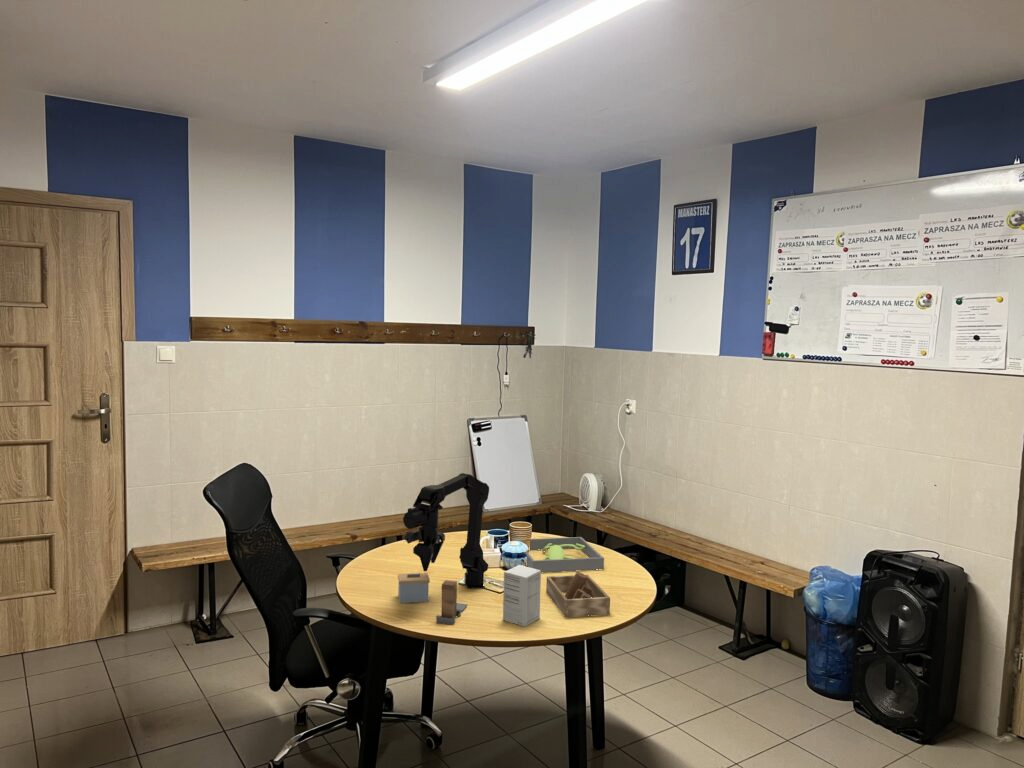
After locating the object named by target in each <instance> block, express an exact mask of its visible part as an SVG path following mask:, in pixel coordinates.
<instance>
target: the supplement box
mask: <svg viewBox="0 0 1024 768" xmlns="http://www.w3.org/2000/svg"><path fill="white" fill-rule="evenodd" d="M541 580H542V573H541V570H538V569H534V568H530V567H527V566H526V565H522V564H518V565H515V566H514V567H511V568H510V569H507V570H506V571H504V572H503V593H502V594H503V601H502V606H503V607H502V620H503V621H504V620H505V622H509V623H511V624H514V623H515V625H517V624H518V626H520V627H521V626H522V627H524V626H526V627H528V626H529V625H531V624H533V623H534V622H536V621H537V620H538V619H540V616H541V614H540V613H541V588H542V587H541V584H542V581H541Z"/></svg>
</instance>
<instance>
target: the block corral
mask: <svg viewBox="0 0 1024 768" xmlns="http://www.w3.org/2000/svg"><path fill="white" fill-rule="evenodd" d="M585 575H586V576H587V579H586V581H585V583H584V585H583V587H582V589H583V588H584V587H586V588H588V589H590V590H592V591H591V593H590V595H591V597H592V598H580V599H567V598H566V597H565V594H564V593H566V592H567V590H568V588H569V586H570V584H571V582H572V580H573V578H574V576H575V574H571V575H569V574H568V575H554V576H553V575H552V576H551V575H550V576H546V586H545V587H546V588H545V590H546V591H545V592H546V594H547V595H548V597H549V599H550V600H551V599H552V600H551V601H552V602H553V604H554V603H555V604H554V605H555V607H556V608H557V609H558V610H559V611H560V613H561V615H562V616H563V615H564V616H563V617H564V618H565V617H568V618H579V617H578V616H584V617H592V616H591V615H599V616H609V615H610V613H611V611H610V610H611V609H610V607H611V605H610V604H611V597H610V596H609V595H608V594H607V592H606V591H604V590H603V589H602V588H601V587H600V585H598V584H597V582H596V581H595V580H594V579H593V578H592V577H591V576H590V575H589V574H585ZM582 589H581V590H582ZM562 592H563V593H562ZM608 614H609V615H608ZM588 615H589V616H588Z"/></svg>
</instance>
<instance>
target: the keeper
mask: <svg viewBox="0 0 1024 768" xmlns="http://www.w3.org/2000/svg"><path fill="white" fill-rule="evenodd" d="M461 615H462V612H461V610H460V609H456V616H458V617H457V618H460V617H461ZM435 618H436V619H435V620H436V622H437V623H436V624H443V623H444V625H452V624H454V625H455V623H456V618H455V617H449V616H441V614H440V615H439V614H437V616H436V617H435Z"/></svg>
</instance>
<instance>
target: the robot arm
mask: <svg viewBox="0 0 1024 768" xmlns="http://www.w3.org/2000/svg"><path fill="white" fill-rule="evenodd" d="M461 489H463V490H465V494H466V495H465V497H466V499H467V502H468V504H469V510H468V523H467V534H466V543H465V545H464V546H463V547H461V548H460V550H459V552H460V553H459V556H458V557H459V561H460V563H461V566H462V569H463V570H464V569H465V572H464V580H463V581H464V585H465V586H466V588H467V589H482V588H483V587H484V588H485V583H484V581H485V580H484V579H485V578H484V576H485V575H484V574H485V573H486V572H487V571H488V568H489V563H487V562H486V560H485V559H484V551H483V549H482V547H481V536H482V535H481V533H482V532H481V531H482V522H483V521H482V520H483V509H484V505H485V504H486V502H487V501H488V500H489V494H490V486H489V485H488V483H486V482H483V481H481V480H479V479H477V478H476V477H475V476H474V475H472V474H469V473H464V472H461V473H459V474H458V475H456V476H454V477H452V478H450V479H448V480H445V481H444V482H441V483H439V484H431V485H426V486H425V485H424V486H423V487H421V489H420V491H419V493H418V495H417V497H416V499H415V500H414V503H413V505H412V507H409V508H407V512H406V513H405V514H404V515H403V517H402V523H403V524H404V526H405V528H406V529H408V530H410V531H406V533H405V534H404V541H406V543H407V544H411V543H413V542H417V541H418V543H417V544H416V545H415V546H413V548H412V551H413V552H412V553H413V554H414V555H415V556H418V558H419V559H420V563H421V566H422V570H423V572H427V571H428V569H429V567H430V563H431V564H435V563H436V560H437V558H438V555H439V554H440V552H441V549H442V546H443V544H444V542H445V540H446V534H445V533H444V532H443V531H442V532H441V531H440V532H439V529H440V527H441V526H440V524H439V511H440V510H442V509H443V508H444V507H443V506H442V505H441V503H442V502H444V501H445V499H446V497H447V496H449V495H451V494H453V493H455V492H457V491H459V490H461ZM415 528H418V529H415ZM412 529H414V530H412ZM483 584H484V586H483Z"/></svg>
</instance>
